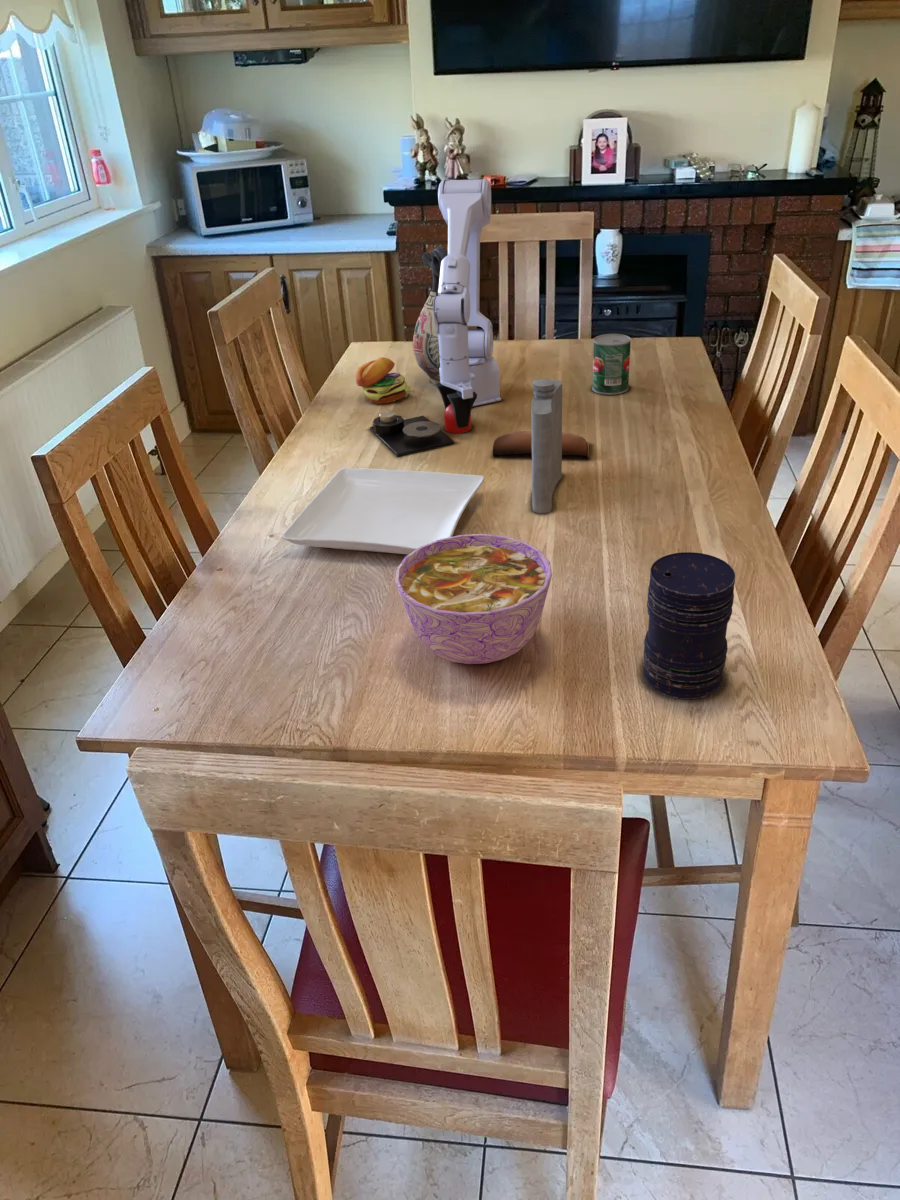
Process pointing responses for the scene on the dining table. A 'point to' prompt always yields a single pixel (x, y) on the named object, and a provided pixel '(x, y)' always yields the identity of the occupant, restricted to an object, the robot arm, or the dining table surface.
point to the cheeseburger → (381, 381)
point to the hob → (407, 444)
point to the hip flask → (546, 442)
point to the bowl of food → (474, 595)
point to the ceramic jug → (430, 322)
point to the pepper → (453, 422)
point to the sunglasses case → (523, 444)
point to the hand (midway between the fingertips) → (457, 421)
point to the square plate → (384, 510)
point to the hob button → (387, 417)
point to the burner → (421, 429)
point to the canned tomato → (611, 364)
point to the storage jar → (687, 624)
